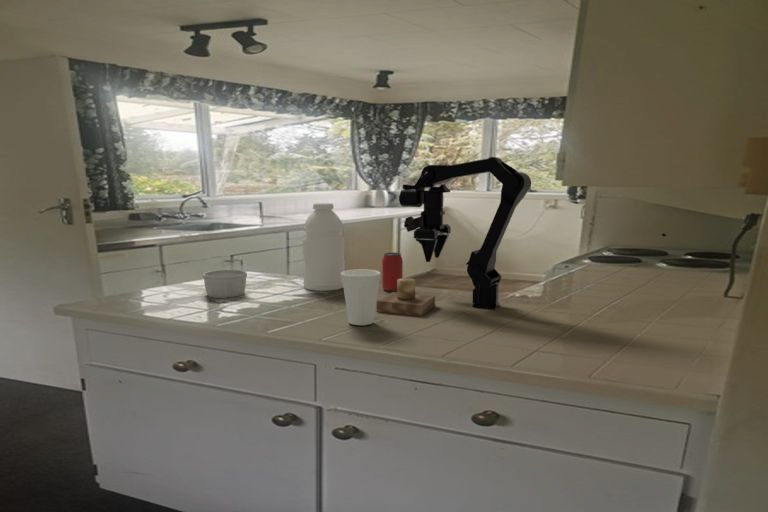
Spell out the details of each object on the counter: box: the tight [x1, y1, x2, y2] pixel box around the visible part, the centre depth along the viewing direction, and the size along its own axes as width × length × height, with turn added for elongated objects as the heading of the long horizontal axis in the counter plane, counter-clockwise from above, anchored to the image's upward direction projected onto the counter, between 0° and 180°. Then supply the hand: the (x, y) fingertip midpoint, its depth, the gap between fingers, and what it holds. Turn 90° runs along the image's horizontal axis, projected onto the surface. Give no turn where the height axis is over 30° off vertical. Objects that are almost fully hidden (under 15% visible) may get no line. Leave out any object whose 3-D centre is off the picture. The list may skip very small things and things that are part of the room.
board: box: [376, 291, 436, 317], centre depth 148 cm, size 13×12×3 cm
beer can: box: [381, 252, 404, 293], centre depth 173 cm, size 7×7×12 cm
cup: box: [341, 268, 382, 326], centre depth 133 cm, size 10×10×13 cm
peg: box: [396, 277, 416, 300], centre depth 148 cm, size 5×5×8 cm
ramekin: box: [202, 269, 248, 299], centre depth 166 cm, size 13×13×7 cm
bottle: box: [302, 202, 346, 292], centre depth 176 cm, size 14×14×28 cm
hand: (432, 259), depth 159 cm, fingers open, 9 cm apart
